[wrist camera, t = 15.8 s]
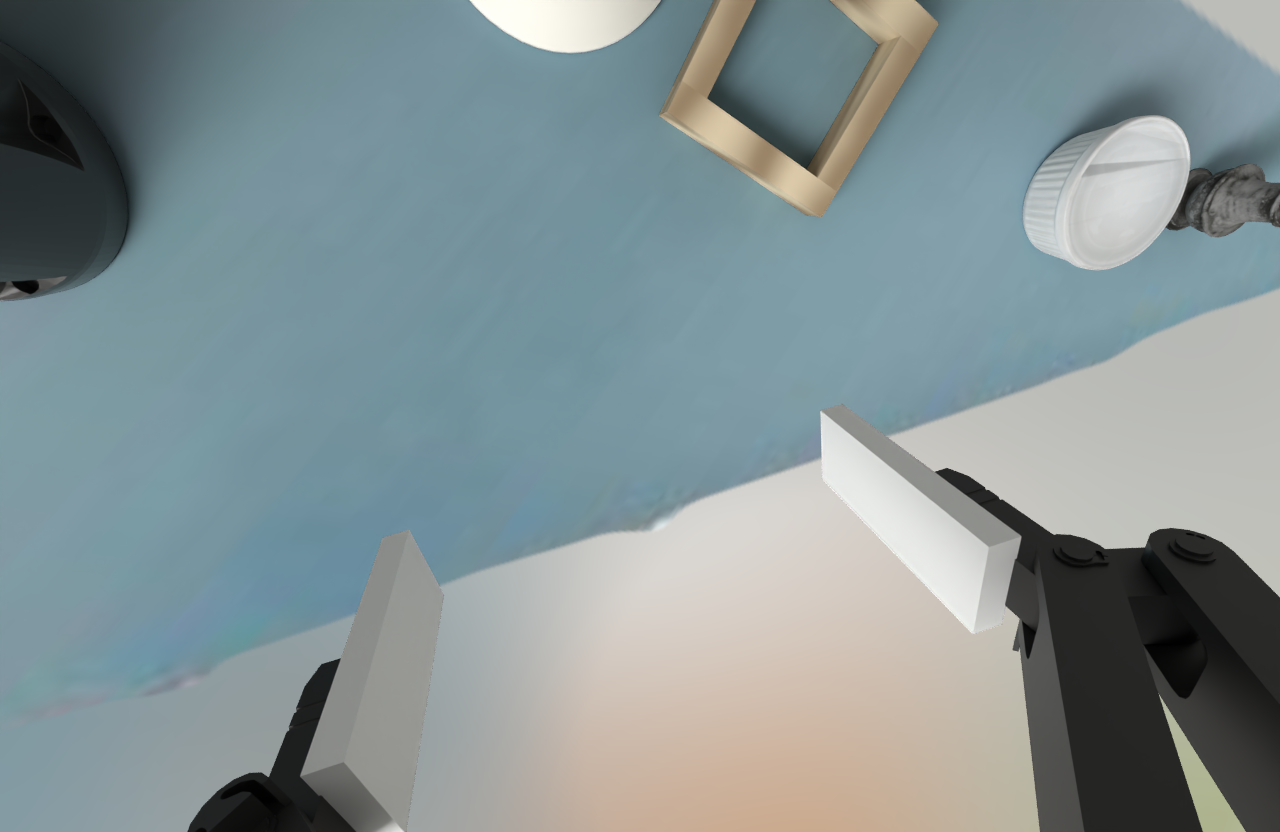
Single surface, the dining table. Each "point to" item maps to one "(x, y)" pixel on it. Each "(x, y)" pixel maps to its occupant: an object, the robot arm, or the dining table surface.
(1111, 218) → the ramekin
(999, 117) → the dining table surface
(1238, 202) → the dark chess piece
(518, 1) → the ceramic coaster
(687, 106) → the wooden square frame
